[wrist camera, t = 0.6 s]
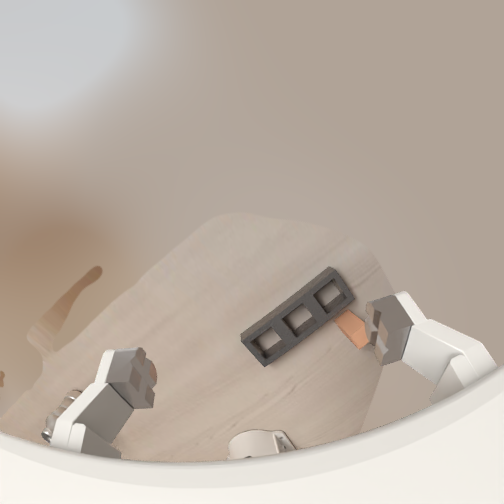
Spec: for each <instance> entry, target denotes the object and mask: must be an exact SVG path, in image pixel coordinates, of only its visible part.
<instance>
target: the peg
mask: <svg viewBox="0 0 504 504" xmlns="http://www.w3.org/2000/svg"><path fill="white" fill-rule="evenodd" d="M334 321H335V323H336V324H337V325H338V327H339V328H340V329H341V331H342V332H343V333H344V334H345V335H346V336H347V337H348V338H349V340H350V341H351V342H352V343H353V344H354V345H355V346H356V347H357V348H358V349H359V350H360V349H361V348H362V347H363V346H365V345H366V344H367V343H368V342H369V341H368V339H367V336H366V332H365V323H364V322H363V321H362V320H361V319H359V318H358V317H357V316H356V315H354V314H353V313H352V312H350V311H349V310H348V309H347V310H346V311H345V312H344V313H343V314H341V315H340V316H339V317H338V318H336V319H335V320H334Z"/></svg>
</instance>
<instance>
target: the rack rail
mask: <svg viewBox="0 0 504 504" xmlns="http://www.w3.org/2000/svg"><path fill="white" fill-rule="evenodd" d="M331 280H332V281H333V283H334V284H335V286H336V287H337V289H338V290H339V292H340V293H341V294H340V295H338V296H337V297H336V298H335V299H333V300H332V301H331V302H330V303H329V304H327V305H326V306H325V307H324V308H322V307H321V306H320V304H319V303H318V302H317V300H316V299H315V298H314V296H313V294H314V293H316V292H317V291H318V290H320V289H321V288H322V287H323V286H324V285H326V284H327V283H328V282H329V281H331ZM354 299H355V298H354V297H353V295H352V294H351V292H350V291H349V289H348V288H347V286H346V285H345V283H344V282H343V280H342V279H341V277H340V276H339V274H338V273H337V271H336V270H335V269H333V268H331V267H328V268H326V269H325V270H324V271H323V272H322V273H320V274H319V275H318V276H317V277H315V278H314V279H313V280H312V281H310V282H309V283H308V284H306V285H305V286H304V287H303V288H301V289H300V290H299V291H298V292H296V293H295V294H294V295H292V296H291V297H290V298H288V299H287V300H286V301H285V302H283V303H282V304H281V305H279V306H278V307H277V308H275V309H274V310H273V311H271V312H270V313H269V314H267V315H266V316H265V317H263V318H262V319H261V320H259V321H258V322H257V323H255V324H254V325H253V326H251V327H250V328H248V329H247V330H246V331H244V332H243V333H241V342H242V343H243V344H244V345H245V346H246V347H247V349H248V350H249V351H250V352H251V353H252V354H253V355H254V356H255V357H256V359H257V360H258V361H259V362H260V363H261V364H262V365H263V366H264V367H266V366H267V365H268V364H270V363H271V362H273V361H274V360H276V359H277V358H278V357H280V356H281V355H283V354H284V353H285V352H287V351H288V350H290V349H291V348H292V347H294V346H295V345H296V344H298V343H299V342H301V341H302V340H303V339H305V338H306V337H307V336H309V335H310V334H311V333H313V332H314V331H315V330H316V329H318V328H319V327H320V326H322V325H323V324H324V323H325V322H327V321H328V320H329V319H330V318H332V317H333V316H334V315H335V314H337V313H338V312H339V311H340V310H342V309H343V308H344V307H345V306H346V305H348V304H349V303H350V302H351V301H353V300H354ZM302 303H303V304H304V305H305V307H306V308H307V309H308V311H309V312H310V313H311V315H312V317H311V318H309V319H308V320H307V321H306V322H304V323H303V324H302V325H300V326H299V327H298V328H296V329H295V330H294V331H292V330H291V328H290V327H289V326H288V325H287V324H286V322H285V321H284V320H283V319H282V318H283V317H285V316H286V315H287V314H289V313H290V312H291V311H293V310H294V309H295V308H297V307H298V306H299V305H300V304H302ZM270 327H272V328H273V329H274V331H275V332H276V333H277V334H278V335H279V337H280V338H281V339H282V340H280V341H279V342H277V343H276V344H275V345H273V346H272V347H270V348H269V349H268V350H266V351H265V352H263V351H262V350H261V348H260V347H259V346H258V345H257V344H256V343H255V342H254V340H253V339H255V338H256V337H258V336H259V335H260V334H262V333H263V332H264V331H266V330H267V329H269V328H270Z"/></svg>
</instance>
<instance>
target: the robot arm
mask: <svg viewBox="0 0 504 504" xmlns="http://www.w3.org/2000/svg"><path fill="white" fill-rule="evenodd" d="M366 312H367V313H368V316H367V317H366V319H365V332H366V336H367V339H368V341H369V343H370V344H372V345H374V346H375V351H374V353H375V355H376V357H377V359H378V362H379V364H380V366H383V365H386V364H390V363H393V362H395V361H398V360H402V361H403V362H404V363H406V364H407V365H408V366H410V367H411V368H413V369H414V370H416V371H417V372H419V373H420V374H421V375H423V376H424V377H426V378H427V379H429V380H430V381H431V382H433V383H434V384H436V385H437V386H436V388H435V390H434V391H433V393H432V395H431V397H430V401H431V403H432V405H431V406H429V407H427V408H425V409H422V410H420V411H418V412H416V413H413V414H411V415H409V416H406V417H404V418H401V419H399V420H396V421H394V422H391V423H389V424H386V425H383V426H380V427H378V428H375V429H372V430H369V431H366V432H363V433H360V434H357V435H353V436H350V437H347V438H343V439H340V440H336V441H333V442H329V443H325V444H321V445H317V446H312V447H308V448H303V449H299V450H296V449H295V447H294V446H293V444H292V443H291V442H290V440H289V439H288V437H287V436H286V434H285V433H284V432H283V431H272V432H270V431H263V430H251V431H246V432H243V433H240V434H238V435H237V436H235V437H234V438H233V439H232V440H231V441H230V443H229V446H228V449H229V455H228V457H227V460H218V461H197V462H161V461H141V460H128V459H121V452H120V450H118V449H117V448H116V447H114V446H113V445H111V443H112V442H113V440H114V439H115V437H116V436H117V435H118V433H119V432H120V430H121V429H122V427H123V426H124V424H125V423H126V421H127V420H128V418H129V417H130V415H131V414H132V412H133V411H134V409H145V408H153V403H154V396H155V393H154V391H153V390H152V388H153V387H154V386H155V385H156V382H157V373H156V368H155V366H154V364H153V363H152V361H151V360H149V359H147V358H145V357H146V352H145V351H144V350H143V348H139V347H138V348H125V349H114V350H106V351H105V352H104V354H103V357H102V360H101V363H100V366H99V369H98V372H97V376H96V379H95V382H94V383H91V384H90V385H89V386H88V387H87V388H86V389H85V390H84V391H83V393H82V394H81V395H80V396H79V397H78V398H77V399H76V400H75V401H74V402H73V403H72V404H71V405H70V406H69V407H68V408H67V409H66V410H65V411H64V412H63V414H62V415H61V416H60V417H59V418H58V419H57V421H56V424H55V428H54V431H53V435H52V439H51V443H50V446H46V445H43V444H39V443H35V442H32V441H29V440H25V439H22V438H19V437H16V436H13V435H10V434H7V433H4V432H2V431H0V504H504V364H503V365H501V366H500V367H497V365H496V363H495V362H494V361H493V359H492V357H491V356H490V354H489V353H488V352H487V350H486V349H485V347H484V346H483V344H482V343H481V342H479V341H477V340H475V339H473V338H471V337H469V336H466V335H464V334H462V333H460V332H458V331H456V330H454V329H451V328H449V327H447V326H445V325H443V324H441V323H439V322H436V321H434V320H432V319H429V320H427V318H426V317H425V316H424V314H423V313H422V312H421V310H420V309H419V308H418V306H417V305H416V303H415V302H414V301H413V299H412V298H411V297H410V295H409V294H408V293H407V292H406V291H403V292H399V293H396V294H393V295H390V296H386V297H383V298H380V299H377V300H373V301H370V302H368V303H367V305H366Z"/></svg>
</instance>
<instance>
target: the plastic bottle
mask: <svg viewBox="0 0 504 504" xmlns="http://www.w3.org/2000/svg"><path fill="white" fill-rule="evenodd" d="M81 394H82V393H81V392H79V391H76V390H72V391H70V392H68V393H67V394H66V396H65V398H64V400H63V402H62V403H61V405H60V406H59V407H58V408H57V409H56V410H55V411H54V412H52V413H51V414H50V415H49V416H48V417H47V418H46V428H45V429H44V430H43V432H42V433H41V435H42V437H43V438H44V439H45V440H46V441H47V442H48V443H51V439H52V435H53V431H54V428H55V424H56V421H57V419H58V418H59V417H60V416H61V415H62V414H63V412H64V411H65V410H66V409H67V408H68V407H69V406H70V405H71V404H72V403H73V402H74V401H75V400H76V399H77V398H78V397H79V396H80V395H81Z"/></svg>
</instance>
